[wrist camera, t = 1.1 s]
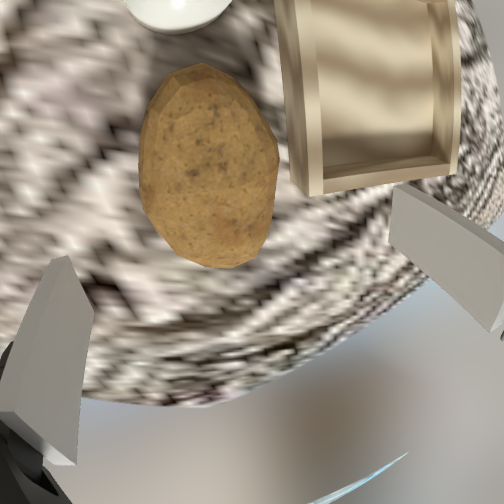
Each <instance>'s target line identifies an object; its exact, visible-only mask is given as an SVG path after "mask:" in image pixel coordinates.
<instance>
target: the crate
mask: <svg viewBox="0 0 504 504" xmlns="http://www.w3.org/2000/svg"><path fill="white" fill-rule="evenodd" d="M274 7H275V15H276V23H277V32H278V40H279V50H280V59H281V69H282V79H283V89H284V100H285V112H286V124H287V137H288V151H289V165H290V181H291V182H292V183H293V184H294V185H296V186H297V187H298V188H299V189H301V190H302V191H303V192H304V193H305V194H307V195H308V196H309V197H311V196H317V195H322V194H328V193H334V192H339V191H345V190H351V189H357V188H363V187H369V186H376V185H382V184H388V183H395V182H402V181H408V180H415V179H422V178H429V177H437V176H444V175H452V174H456V170H457V162H458V151H459V139H460V123H461V60H460V45H459V33H458V24H457V16H456V8H455V2H454V0H274Z"/></svg>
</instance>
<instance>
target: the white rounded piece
mask: <svg viewBox="0 0 504 504" xmlns="http://www.w3.org/2000/svg"><path fill="white" fill-rule="evenodd" d="M231 1H232V0H124V2H125V4H126V6H127V8H128V10H129V12H130V14H131V16H132V17H133V18H134V20H135V21H136V22H138V23H139V24H140V25H141V26H143V27H144V28H146V29H148V30H150V31H153V32H156V33H161V34H168V35H178V34H185V33H190V32H193V31H197V30H199V29H201V28H203V27H205V26H207V25H209V24H210V23H212V22H213V21H214V20H215V19H216V18H218V17H219V16H220V14H221V13H222V12H223V11H224V10H225V8H226V7H227V6H228V5H229V3H230V2H231Z"/></svg>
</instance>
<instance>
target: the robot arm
mask: <svg viewBox="0 0 504 504" xmlns="http://www.w3.org/2000/svg"><path fill="white" fill-rule="evenodd" d="M388 242H389V243H390V244H391V245H392V246H393V247H395V248H396V249H397V250H398V251H400V252H401V253H402V254H403V255H404V256H406V257H407V258H408V259H409V260H410V261H411V262H413V263H414V264H415V265H416V266H417V267H419V268H420V269H421V270H422V271H423V272H424V273H425V274H427V275H428V276H429V277H430V278H431V279H432V280H433V281H435V282H436V283H437V284H438V285H439V286H440V287H441V288H442V289H443V290H445V291H446V292H447V293H448V294H449V295H450V296H451V297H452V298H453V299H454V300H455V301H456V302H458V303H459V304H460V305H461V306H462V307H463V308H464V309H465V310H466V311H467V312H468V313H469V314H470V315H471V316H472V317H473V318H474V319H475V320H476V321H477V322H478V323H479V324H480V325H482V327H484V328H485V329H486V331H487V332H489V333H490V332H491V331H493V330H494V329H495V328H497V327H498V326H500V325H501V323H502V321H503V319H504V242H503V241H502V240H500V239H498V238H497V237H496V236H494V235H493V234H491V233H489V232H488V231H487V230H485V229H484V228H482V227H480V226H479V225H477V224H476V223H474V222H473V221H471V220H469V219H468V218H466V217H464V216H463V215H461V214H460V213H458V212H456V211H455V210H453V209H451V208H449V207H448V206H446V205H444V204H443V203H441V202H439V201H437V200H436V199H434V198H432V197H430V196H428V195H427V194H425V193H423V192H421V191H419V190H417V189H415V188H414V187H412V186H410V185H408V184H402V185H396V186H394V188H393V201H392V212H391V223H390V232H389V240H388ZM94 314H95V313H94V311H93V309H92V307H91V305H90V303H89V301H88V299H87V297H86V294H85V292H84V290H83V288H82V286H81V284H80V282H79V279H78V277H77V275H76V273H75V270H74V268H73V266H72V263H71V261H70V259H69V256H68V255H67V256H64V257H60V258H56V259H53V260H51V262H50V263H49V265H48V267H47V269H46V271H45V273H44V275H43V277H42V279H41V281H40V283H39V285H38V287H37V289H36V291H35V294H34V296H33V298H32V300H31V302H30V304H29V307H28V309H27V311H26V314H25V316H24V318H23V321H22V323H21V325H20V328H19V330H18V333H17V335H16V338H15V340H14V341H12V342H11V343H10V344H9V345H8V347H7V348H6V350H5V351H4V352H3V354H2V356H1V359H0V504H72V503H71V501H70V500H69V499H68V497H67V496H66V495H65V493H64V492H63V491H62V489H61V488H60V487H59V485H58V484H57V482H56V481H55V480H54V478H53V477H52V475H51V474H50V472H49V471H48V470H47V469H46V468H45V467H44V466H43V465H42V464H43V456H44V457H45V458H46V459H48V460H49V461H51V462H52V463H53V464H55V465H77V444H78V427H79V415H80V404H81V395H82V386H83V379H84V371H85V364H86V358H87V352H88V346H89V340H90V334H91V329H92V324H93V319H94ZM503 340H504V331H503V333H502V335H501V341H503Z"/></svg>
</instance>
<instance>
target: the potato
mask: <svg viewBox="0 0 504 504" xmlns="http://www.w3.org/2000/svg"><path fill="white" fill-rule="evenodd" d="M279 160H280V158H279V152H278V145H277V139H276V138H275V136H274V134H273V132H272V131H271V129H270V127H269V125H268V123H267V122H266V120H265V118H264V117H263V115H262V113H261V112H260V110H259V108H258V107H257V105H256V103H255V102H254V100H253V98H252V97H251V96H250V95H249V94H248V93H247V92H246V91H245V89H244V88H243V87H242V86H241V85H240V84H239V83H238V82H237V81H236V80H235V79H234V78H233V77H231V76H230V75H229V74H226V73H224V72H222V71H220V70H218V69H216V68H214V67H212V66H210V65H207V64H205V63H203V62H202V63H199V64H196V65H192V66H189V67H186V68H183V69H180V70H177V71H174V72H171V73H169V74H168V75H167V77H166V78H165V79H164V81H163V82H162V84H161V85H160V87H159V88H158V90H157V91H156V93H155V94H154V96H153V98H152V99H151V101H150V102H149V104H148V105H147V109H146V113H145V117H144V121H143V125H142V129H141V133H140V144H139V163H138V168H139V187H140V194H141V200H142V206H143V210H144V212H145V214H146V215H147V217H148V218H149V220H150V221H151V223H152V225H153V226H154V228H155V229H156V231H157V232H158V233H159V234H160V235H161V236H162V237H163V238H164V239H165V240H166V241H167V243H168V244H169V245H170V247H171V248H172V249H173V250H174V252H175V253H176V254H177V255H179V256H181V257H183V258H186V259H188V260H190V261H193V262H195V263H198V264H200V265H202V266H204V267H212V268H233V267H235V266H237V265H240V264H242V263H244V262H246V261H248V260H250V259H253V258H255V257H256V255H257V254H258V252H259V250H260V249H261V247H262V245H263V244H264V242H265V240H266V239H267V237H268V233H269V229H270V224H271V219H272V214H273V208H274V199H275V190H276V181H277V174H278V167H279Z"/></svg>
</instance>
